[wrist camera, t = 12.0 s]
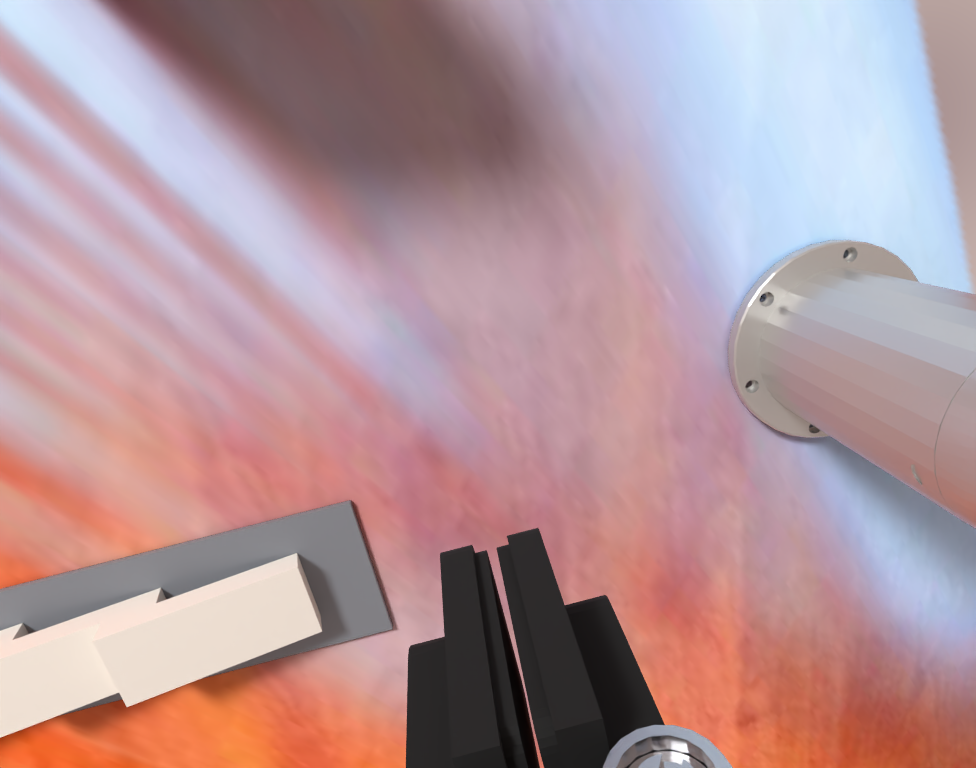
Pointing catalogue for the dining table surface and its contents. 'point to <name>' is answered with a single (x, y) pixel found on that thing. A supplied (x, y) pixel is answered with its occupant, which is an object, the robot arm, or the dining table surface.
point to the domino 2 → (208, 629)
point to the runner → (190, 565)
